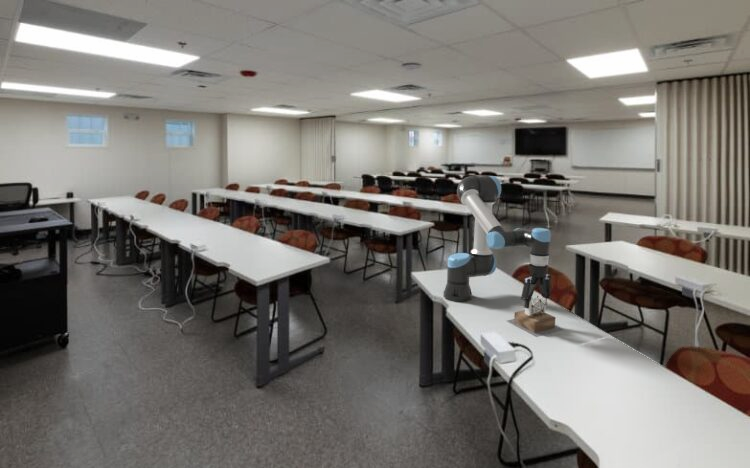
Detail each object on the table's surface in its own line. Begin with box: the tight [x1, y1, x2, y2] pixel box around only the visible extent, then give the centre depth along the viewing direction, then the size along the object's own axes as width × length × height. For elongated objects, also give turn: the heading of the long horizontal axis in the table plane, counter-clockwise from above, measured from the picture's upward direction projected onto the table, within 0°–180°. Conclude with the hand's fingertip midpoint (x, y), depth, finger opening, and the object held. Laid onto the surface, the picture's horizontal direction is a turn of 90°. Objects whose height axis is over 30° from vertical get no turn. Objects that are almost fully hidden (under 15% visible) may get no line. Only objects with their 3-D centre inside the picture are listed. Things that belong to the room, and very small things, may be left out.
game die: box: [523, 295, 547, 316], centre depth 175 cm, size 9×8×10 cm
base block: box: [513, 309, 557, 333], centre depth 176 cm, size 12×12×5 cm
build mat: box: [506, 318, 564, 338], centre depth 176 cm, size 18×16×1 cm
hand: (534, 312), depth 175 cm, fingers closed on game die, 8 cm apart
